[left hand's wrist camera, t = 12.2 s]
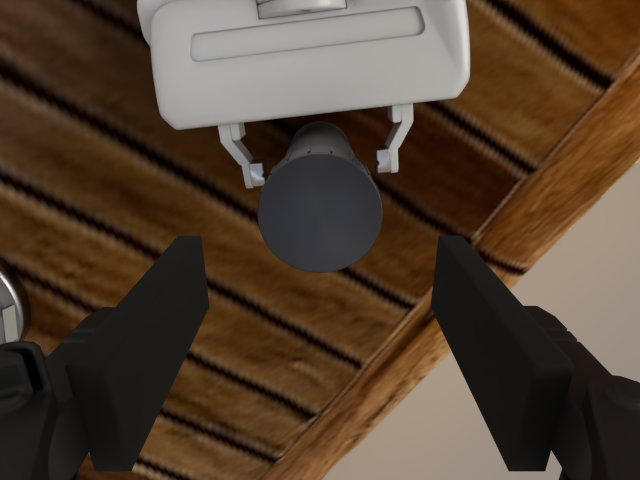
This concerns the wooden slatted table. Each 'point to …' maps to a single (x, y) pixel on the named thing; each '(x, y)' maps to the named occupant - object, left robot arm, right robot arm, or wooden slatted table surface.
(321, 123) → the jar
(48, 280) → the wooden slatted table surface
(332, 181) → the lid
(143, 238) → the wooden slatted table surface
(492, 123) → the wooden slatted table surface
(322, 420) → the wooden slatted table surface
